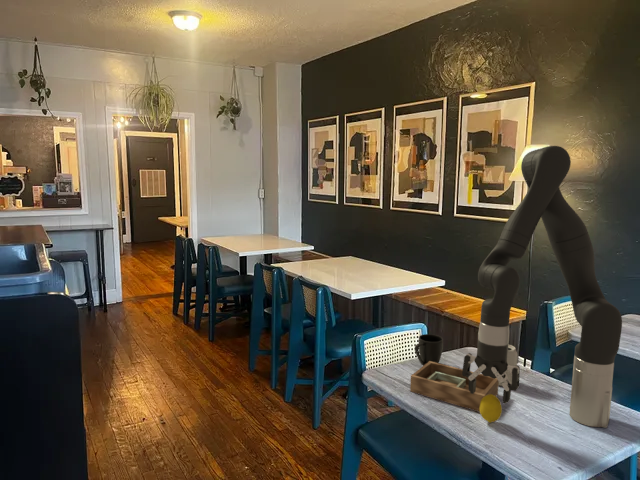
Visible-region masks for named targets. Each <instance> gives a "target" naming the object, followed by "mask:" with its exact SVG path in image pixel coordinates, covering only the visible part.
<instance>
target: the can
mask: <svg viewBox="0 0 640 480" xmlns="http://www.w3.org/2000/svg"><path fill="white" fill-rule="evenodd" d="M518 356H519V355H518V352H517V350H516V347H515V346H514V345H512V344H508V355H507V363H508V365H510V366H516V365H518ZM505 373H506V375H507V377H508V380H509V381H510V383H511V384H512V375H511V374H510V372H509V370H506V371H505ZM498 387H503V386H502V384H501V383H500V382H499V383H498Z"/></svg>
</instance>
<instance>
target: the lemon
mask: <svg viewBox="0 0 640 480" xmlns="http://www.w3.org/2000/svg"><path fill="white" fill-rule="evenodd" d="M502 407H503V406H502V403H501V401H500V399H499V398H498V397H497V396H494V395H492V394H490V395H486V396H484V397H483V398H482V400H481V402H480V412H479V413H480V416H481V418H483V419H484V420H485V422H488V423H489V424H491V423H495V422H496V421H498V420H499V419H500V417H502V416H501V415H502V412H503V409H502Z"/></svg>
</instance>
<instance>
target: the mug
mask: <svg viewBox="0 0 640 480" xmlns="http://www.w3.org/2000/svg"><path fill="white" fill-rule="evenodd" d="M443 349H444V338H443V336H440V335H437V334H432V333H431V334H430V333H425V334H420V335H419V336H418V343H417V344H415V346H414V352H415V355H416V357H417V359H418V362H419V363H420V365H422V367H423V366H424V365H425V364H426V363H428V362H429V361H431V362H435V363H439V364H440V360H441V357H442V355H443Z"/></svg>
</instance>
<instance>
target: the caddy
mask: <svg viewBox="0 0 640 480" xmlns="http://www.w3.org/2000/svg"><path fill="white" fill-rule="evenodd" d="M462 371H463V368H459V367H454V366H451V365H446V364H443V363H440V362H439V363H435V362H431V361H429V362H428V363H426V364H425V365H424V366H423V365H422V366H421V367H420V368H419V369H417V370H416V371H415V372H414V373H412V374H411V375H410V389H409V392H412V393H414V394H418V395H422V396H424V397H429V398H431V399H435V400H438V401H442V402H444V403H445V402H446V403H448V404H452V405H455V406H459V407H462V408H465V409H468V410H471V411H475V412H478V413H480V402H481V400H482V398H483V397H484V396H486V395H490V394H492V395H494V396H496V397H497V396H498V395H499V385H498V383H499V381H498V379H497V378H495V379H494V378H491V377H489V376H483V374H482V373H480V374H479V375H478V376H476V377H475V379H476V391H475V393H474V394H471V393H470V391H469V389H468V387H469V379H468V378H467V377H466V376H465V377H464V376H463V375H462ZM470 372H471V373H473V372H474V371H472V370H470Z"/></svg>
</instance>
